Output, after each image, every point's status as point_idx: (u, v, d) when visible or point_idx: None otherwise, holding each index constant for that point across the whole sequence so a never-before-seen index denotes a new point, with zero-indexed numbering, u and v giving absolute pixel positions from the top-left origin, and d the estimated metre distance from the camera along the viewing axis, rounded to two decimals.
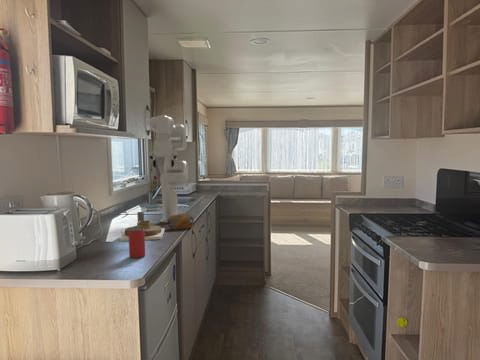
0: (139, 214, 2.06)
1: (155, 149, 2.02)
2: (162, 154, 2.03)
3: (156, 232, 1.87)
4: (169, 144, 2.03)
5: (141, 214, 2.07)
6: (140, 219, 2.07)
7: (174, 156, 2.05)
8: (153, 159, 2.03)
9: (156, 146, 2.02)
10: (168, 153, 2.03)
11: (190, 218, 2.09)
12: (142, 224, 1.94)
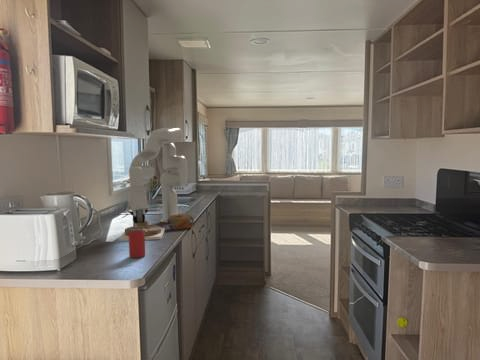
0: (138, 211, 1.94)
1: (131, 202, 1.91)
2: (139, 207, 1.93)
3: (159, 231, 1.91)
4: (145, 196, 1.95)
5: (140, 211, 1.94)
6: (139, 216, 1.94)
7: (145, 210, 1.97)
8: (134, 214, 1.93)
9: (132, 199, 1.91)
10: (145, 205, 1.95)
11: (190, 218, 2.09)
12: (140, 224, 1.94)
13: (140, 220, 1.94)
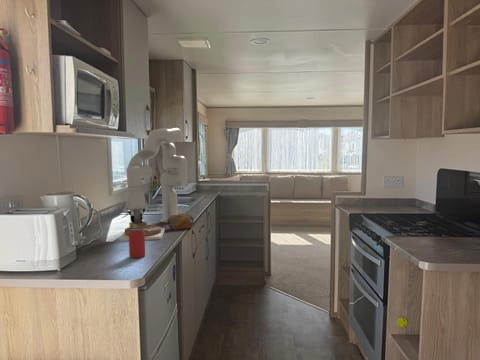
0: (137, 211, 1.93)
1: (129, 202, 1.91)
2: (136, 207, 1.93)
3: (160, 230, 1.93)
4: (143, 195, 1.95)
5: (138, 211, 1.94)
6: (138, 216, 1.93)
7: (143, 210, 1.96)
8: (131, 214, 1.93)
9: (130, 199, 1.91)
10: (142, 205, 1.95)
11: (190, 218, 2.09)
12: (139, 224, 1.93)
13: (138, 220, 1.94)
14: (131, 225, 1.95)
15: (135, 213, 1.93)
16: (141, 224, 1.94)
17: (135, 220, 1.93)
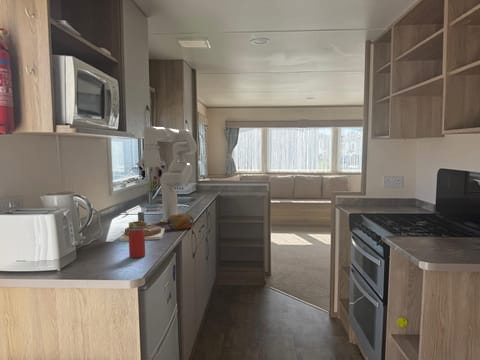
0: (141, 214, 2.06)
1: (145, 159, 2.04)
2: (152, 164, 2.07)
3: None
4: (158, 154, 2.08)
5: (143, 214, 2.07)
6: (142, 219, 2.06)
7: (162, 166, 2.11)
8: (143, 169, 2.05)
9: (146, 156, 2.04)
10: (157, 163, 2.08)
11: (190, 218, 2.09)
12: (139, 224, 1.93)
13: None
14: (131, 225, 1.94)
15: (139, 216, 2.06)
16: (141, 224, 1.94)
17: None
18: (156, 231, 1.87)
